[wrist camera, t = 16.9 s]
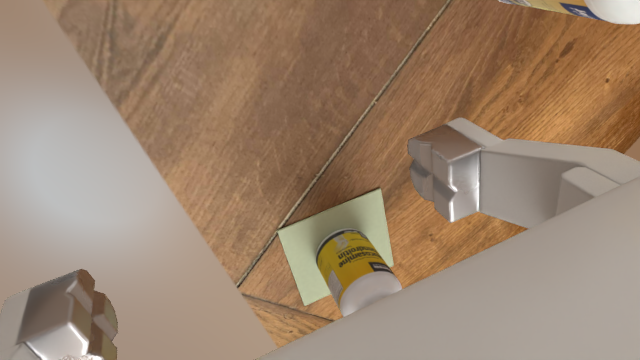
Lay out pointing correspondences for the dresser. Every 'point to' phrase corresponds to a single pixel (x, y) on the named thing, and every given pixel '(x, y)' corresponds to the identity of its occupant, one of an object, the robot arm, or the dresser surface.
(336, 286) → the pill bottle
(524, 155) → the robot arm
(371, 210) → the mat
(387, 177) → the dresser surface
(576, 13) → the supplement tub
